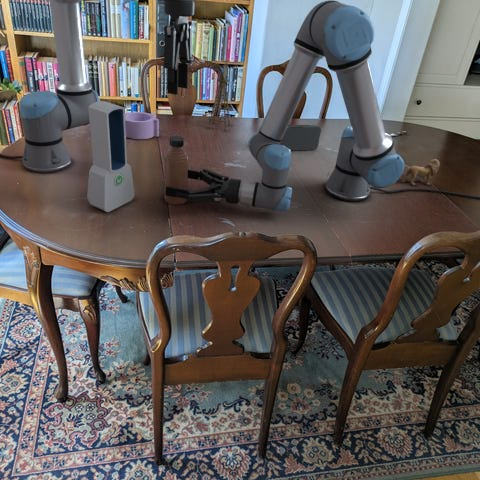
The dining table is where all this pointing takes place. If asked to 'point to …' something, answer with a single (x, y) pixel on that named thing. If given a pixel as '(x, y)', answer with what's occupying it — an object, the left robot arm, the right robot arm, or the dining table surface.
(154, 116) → the clip
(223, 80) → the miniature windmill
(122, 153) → the electronic device
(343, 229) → the dining table surface
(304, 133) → the handheld gaming console
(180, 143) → the cap
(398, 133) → the sword
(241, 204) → the right robot arm
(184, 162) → the bottle
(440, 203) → the dining table surface
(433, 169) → the lion figurine
